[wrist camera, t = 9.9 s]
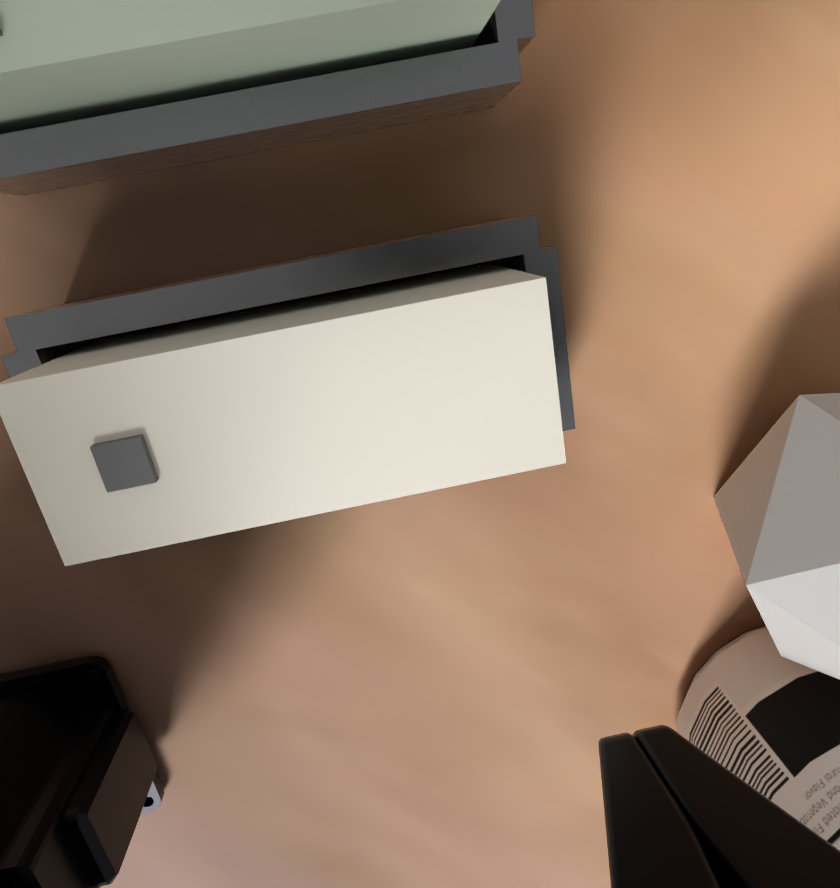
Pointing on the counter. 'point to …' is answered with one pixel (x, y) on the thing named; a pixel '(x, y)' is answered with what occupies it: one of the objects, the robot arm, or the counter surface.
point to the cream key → (289, 411)
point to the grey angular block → (792, 530)
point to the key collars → (270, 126)
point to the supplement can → (771, 727)
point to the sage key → (202, 48)
